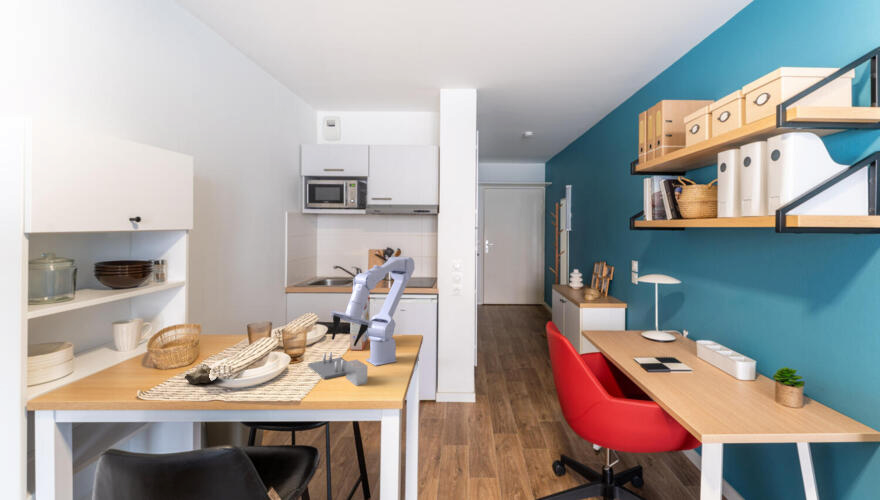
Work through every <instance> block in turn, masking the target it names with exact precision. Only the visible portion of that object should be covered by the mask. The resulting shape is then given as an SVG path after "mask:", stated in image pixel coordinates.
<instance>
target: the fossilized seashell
mask: <svg viewBox="0 0 880 500" xmlns="http://www.w3.org/2000/svg"><path fill="white" fill-rule="evenodd" d="M211 369H212V368H211V367H209V366H208V365H207V364H205V363H203V364H201V365H200V366H197V367H196V369H195V371H192V372H191V373H186V375H185V376H184V379H185V380H187V382H188V383H190V384H193V385H195V384H196V385H197V384H209V383H213V382H212V381H211V380H210V378H209V374H210V370H211Z"/></svg>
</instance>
